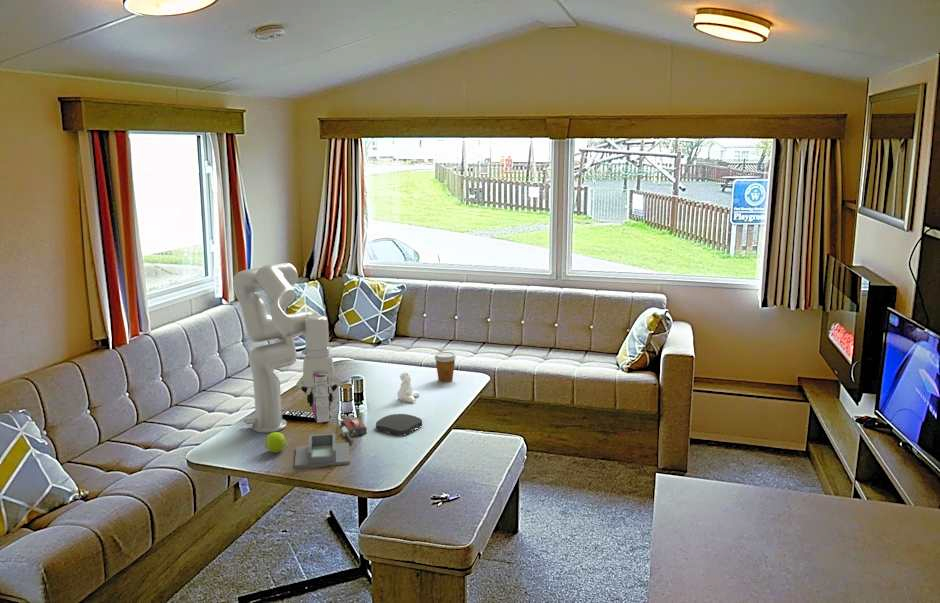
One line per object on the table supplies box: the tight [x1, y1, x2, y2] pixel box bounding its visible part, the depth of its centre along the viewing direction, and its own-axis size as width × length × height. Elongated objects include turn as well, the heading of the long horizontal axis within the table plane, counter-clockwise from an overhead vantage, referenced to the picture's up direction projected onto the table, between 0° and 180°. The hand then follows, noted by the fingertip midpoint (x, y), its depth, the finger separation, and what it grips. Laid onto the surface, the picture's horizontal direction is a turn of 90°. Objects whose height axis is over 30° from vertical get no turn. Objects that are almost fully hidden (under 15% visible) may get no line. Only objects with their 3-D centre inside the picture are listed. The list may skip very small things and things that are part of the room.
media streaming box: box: [375, 413, 423, 436], centre depth 286 cm, size 15×15×3 cm
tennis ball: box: [264, 431, 287, 453], centre depth 264 cm, size 7×7×7 cm
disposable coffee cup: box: [434, 351, 457, 383], centre depth 339 cm, size 10×10×12 cm
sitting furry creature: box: [396, 371, 420, 404], centre depth 315 cm, size 10×9×12 cm
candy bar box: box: [311, 373, 332, 424], centre depth 256 cm, size 11×5×16 cm, turn 20°
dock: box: [294, 433, 351, 469], centre depth 260 cm, size 18×16×5 cm
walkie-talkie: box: [340, 416, 368, 444], centre depth 280 cm, size 9×4×20 cm
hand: (320, 403), depth 256 cm, fingers closed on candy bar box, 5 cm apart
